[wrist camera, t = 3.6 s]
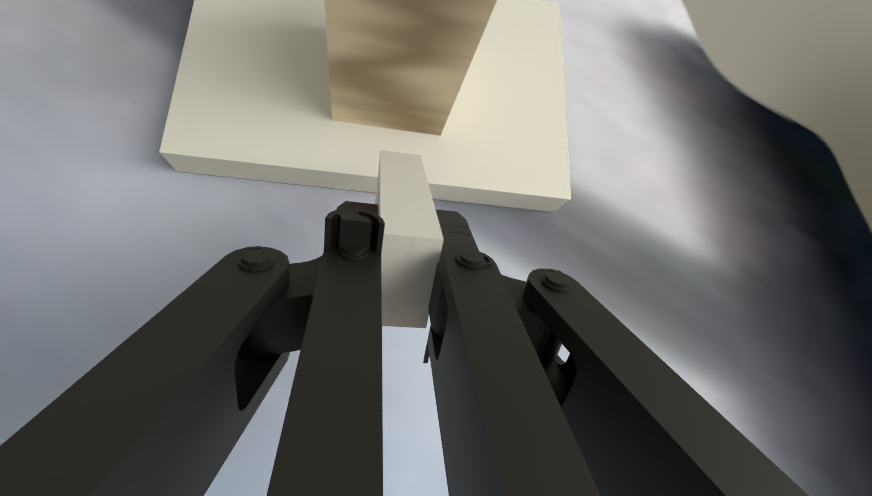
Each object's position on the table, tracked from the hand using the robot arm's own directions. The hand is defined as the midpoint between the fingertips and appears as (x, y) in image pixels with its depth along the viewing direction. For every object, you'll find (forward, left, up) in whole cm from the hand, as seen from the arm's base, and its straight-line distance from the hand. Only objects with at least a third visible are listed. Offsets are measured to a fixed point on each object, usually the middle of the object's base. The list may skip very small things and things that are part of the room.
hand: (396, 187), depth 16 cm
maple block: (0, +8, -4) cm, 9 cm away
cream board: (0, +9, -6) cm, 11 cm away
